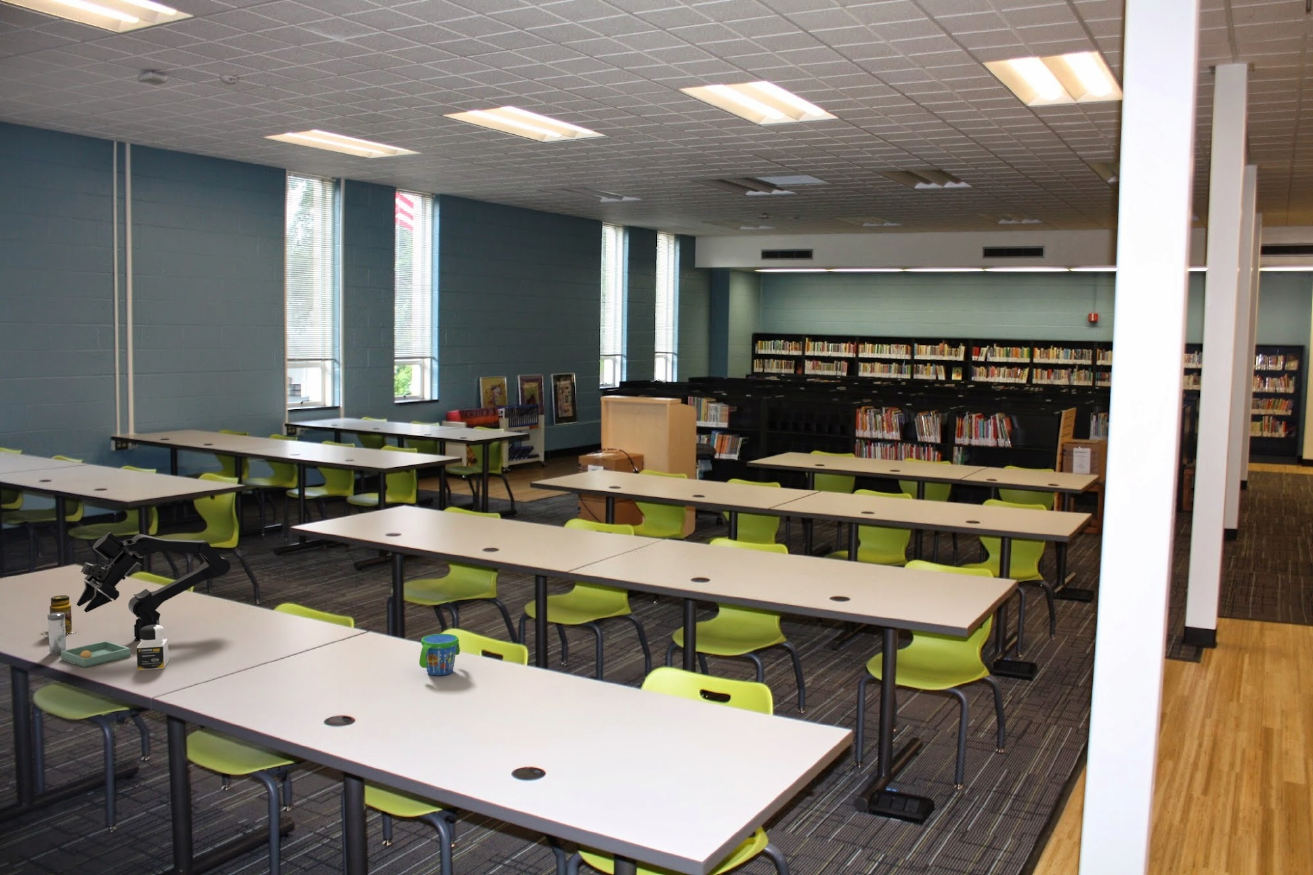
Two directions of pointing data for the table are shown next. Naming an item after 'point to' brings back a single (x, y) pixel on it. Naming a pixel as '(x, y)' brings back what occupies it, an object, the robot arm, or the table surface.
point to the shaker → (56, 633)
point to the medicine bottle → (152, 648)
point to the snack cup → (439, 653)
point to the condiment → (61, 611)
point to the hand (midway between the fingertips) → (81, 608)
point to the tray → (96, 653)
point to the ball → (86, 654)
